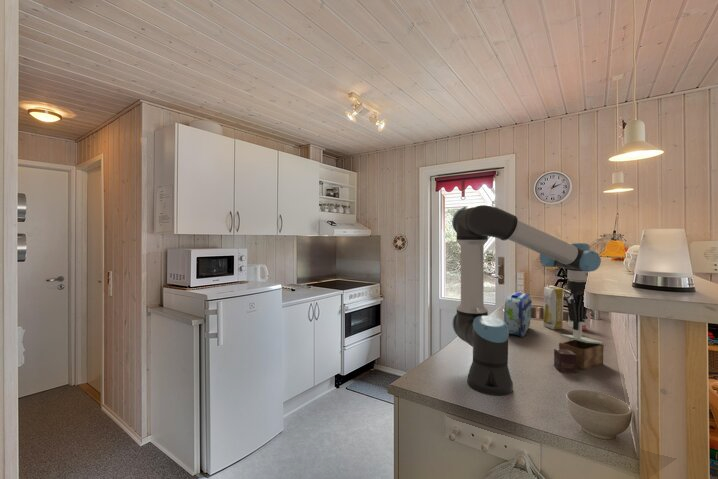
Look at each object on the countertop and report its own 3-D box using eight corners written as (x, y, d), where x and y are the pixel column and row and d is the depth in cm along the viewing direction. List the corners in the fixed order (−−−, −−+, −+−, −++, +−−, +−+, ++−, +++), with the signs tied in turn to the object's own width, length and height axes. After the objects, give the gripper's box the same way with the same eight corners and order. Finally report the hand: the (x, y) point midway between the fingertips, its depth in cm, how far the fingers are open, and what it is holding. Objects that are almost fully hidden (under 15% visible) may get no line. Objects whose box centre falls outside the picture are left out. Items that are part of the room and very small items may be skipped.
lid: (585, 342, 133) (585, 341, 133) (560, 335, 141) (560, 334, 141) (603, 343, 139) (603, 342, 139) (578, 337, 148) (578, 335, 148)
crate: (583, 370, 132) (584, 350, 132) (558, 361, 141) (559, 342, 141) (603, 363, 139) (603, 344, 139) (577, 355, 148) (578, 337, 148)
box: (576, 373, 130) (576, 354, 129) (559, 372, 131) (559, 353, 131) (569, 367, 136) (570, 349, 135) (553, 365, 137) (553, 348, 137)
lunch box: (524, 339, 170) (525, 298, 169) (501, 335, 176) (502, 296, 175) (532, 327, 191) (533, 291, 190) (512, 324, 197) (513, 289, 197)
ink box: (586, 330, 186) (586, 309, 186) (577, 330, 186) (577, 309, 186) (576, 326, 195) (576, 305, 194) (567, 326, 195) (568, 305, 195)
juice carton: (541, 325, 196) (542, 284, 195) (553, 325, 197) (554, 284, 196) (552, 330, 186) (553, 287, 186) (565, 329, 187) (566, 287, 187)
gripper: (578, 283, 131) (577, 342, 132) (596, 280, 137) (595, 337, 138) (559, 280, 138) (558, 337, 139) (577, 278, 144) (576, 332, 145)
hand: (577, 337), depth 138 cm, fingers closed
